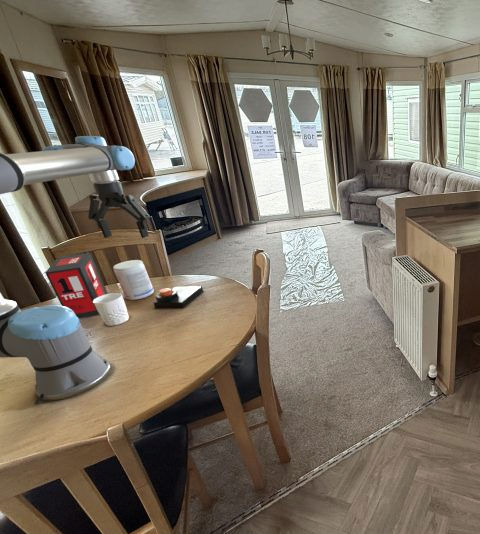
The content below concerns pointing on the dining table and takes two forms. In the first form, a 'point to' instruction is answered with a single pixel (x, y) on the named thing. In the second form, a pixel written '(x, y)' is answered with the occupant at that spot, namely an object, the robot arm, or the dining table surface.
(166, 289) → the oven button
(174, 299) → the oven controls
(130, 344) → the dining table surface
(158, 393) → the dining table surface
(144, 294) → the supplement tub
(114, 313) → the white cup
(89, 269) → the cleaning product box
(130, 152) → the robot arm
